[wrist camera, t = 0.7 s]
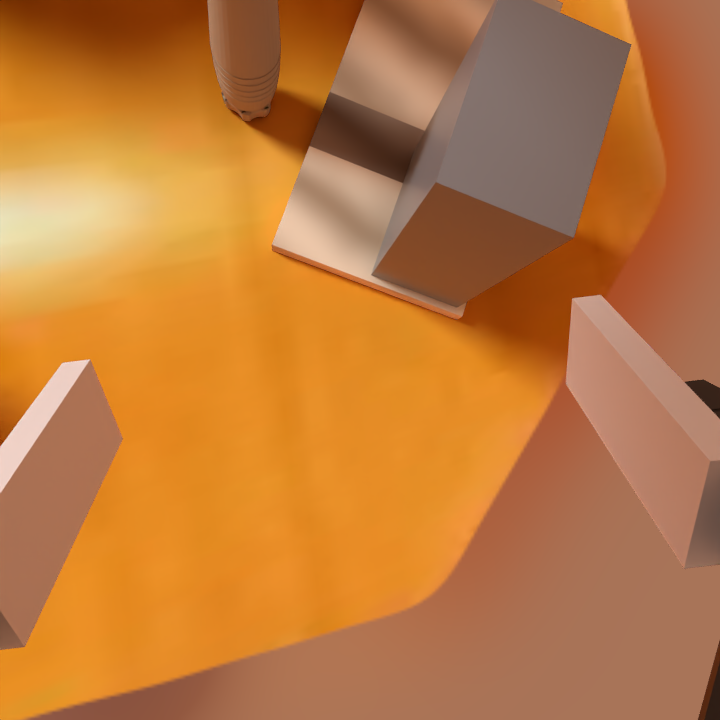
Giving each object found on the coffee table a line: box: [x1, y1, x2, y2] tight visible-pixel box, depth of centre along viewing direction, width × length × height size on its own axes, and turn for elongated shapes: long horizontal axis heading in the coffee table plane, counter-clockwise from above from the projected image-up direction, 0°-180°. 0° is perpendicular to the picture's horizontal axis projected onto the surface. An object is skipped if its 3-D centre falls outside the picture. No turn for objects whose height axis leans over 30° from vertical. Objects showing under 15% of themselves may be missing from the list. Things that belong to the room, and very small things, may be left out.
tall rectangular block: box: [371, 0, 631, 307], centre depth 31 cm, size 9×6×15 cm
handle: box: [207, 0, 281, 121], centre depth 32 cm, size 5×6×15 cm
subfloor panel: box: [272, 0, 563, 320], centre depth 40 cm, size 24×13×1 cm, turn 161°
